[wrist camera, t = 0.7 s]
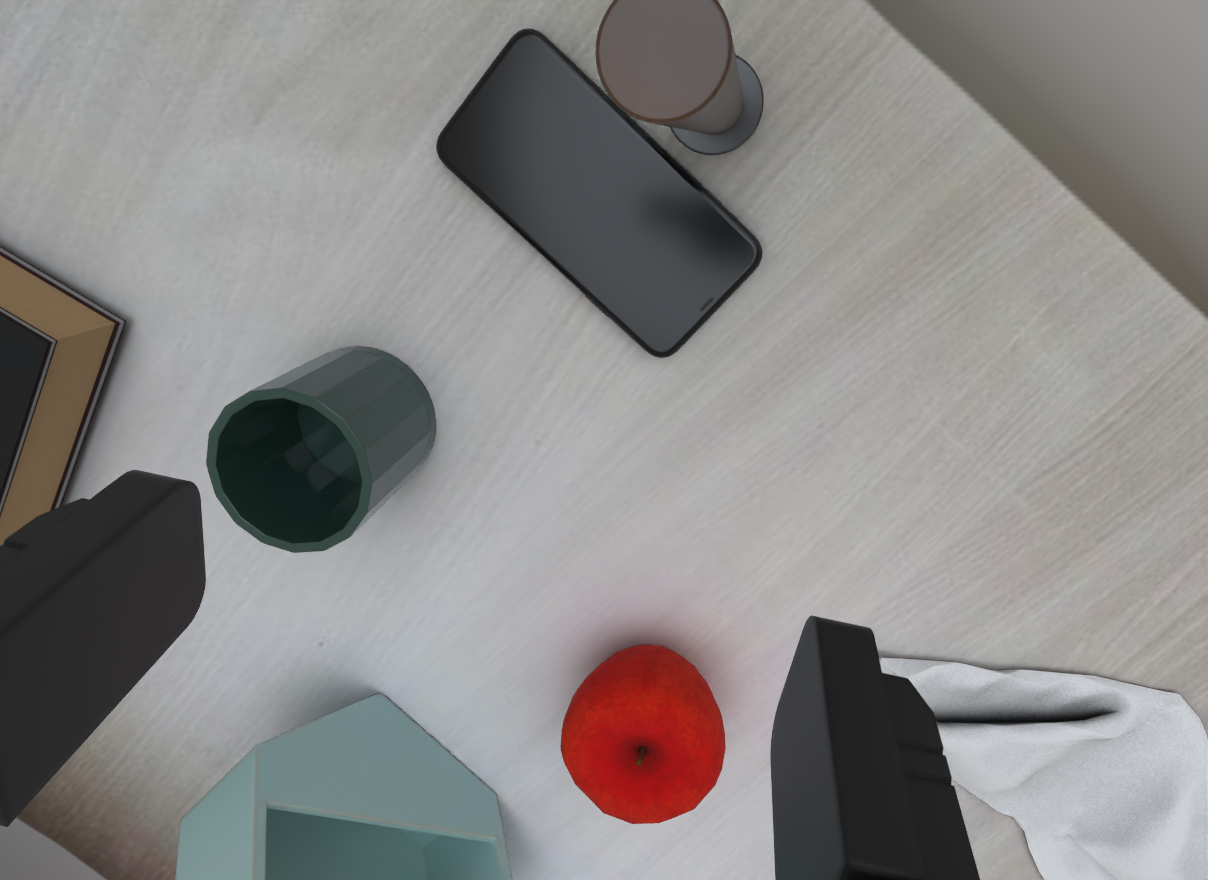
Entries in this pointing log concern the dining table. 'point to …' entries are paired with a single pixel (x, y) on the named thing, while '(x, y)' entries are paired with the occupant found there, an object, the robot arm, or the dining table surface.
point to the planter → (346, 808)
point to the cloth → (1077, 766)
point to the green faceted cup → (320, 447)
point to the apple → (644, 736)
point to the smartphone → (597, 195)
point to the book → (46, 385)
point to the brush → (679, 71)
